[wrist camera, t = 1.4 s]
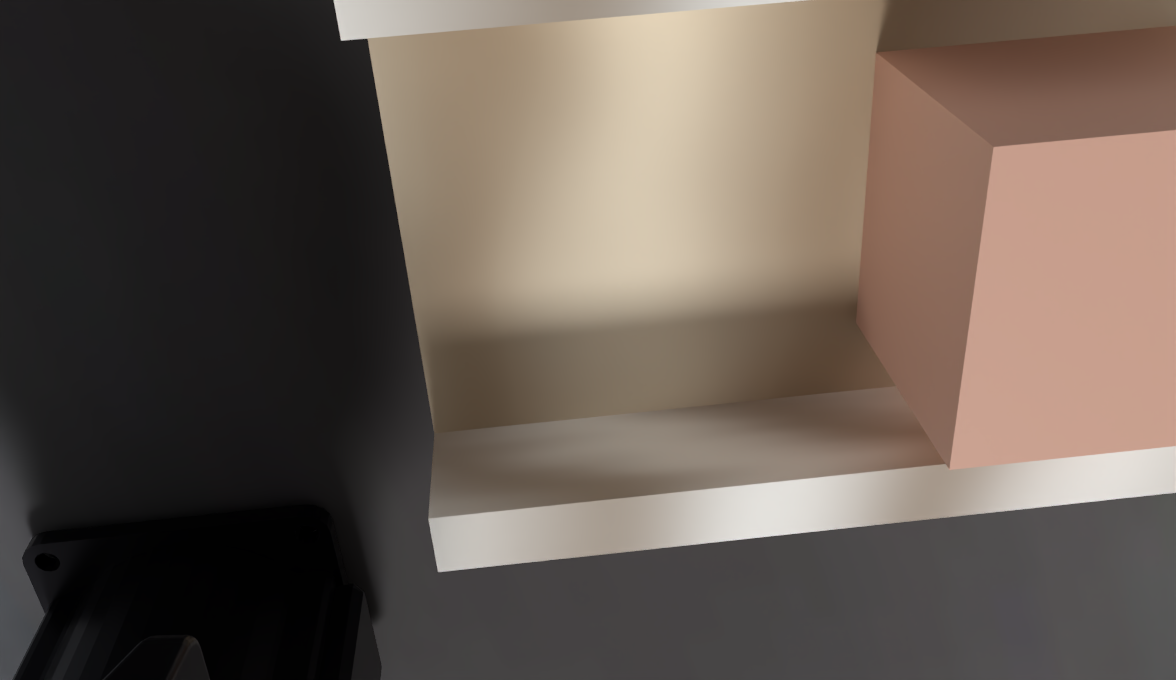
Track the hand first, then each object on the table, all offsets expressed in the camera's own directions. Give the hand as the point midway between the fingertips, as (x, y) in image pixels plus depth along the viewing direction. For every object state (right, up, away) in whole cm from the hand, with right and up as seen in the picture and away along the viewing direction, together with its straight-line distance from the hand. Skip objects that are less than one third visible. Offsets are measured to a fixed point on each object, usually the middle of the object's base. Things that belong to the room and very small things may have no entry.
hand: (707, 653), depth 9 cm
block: (+6, +5, +9) cm, 12 cm away
